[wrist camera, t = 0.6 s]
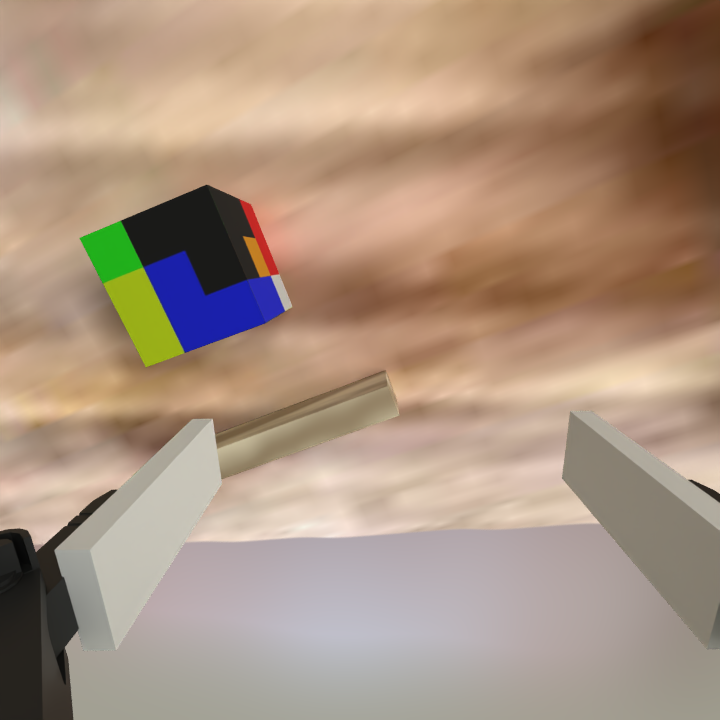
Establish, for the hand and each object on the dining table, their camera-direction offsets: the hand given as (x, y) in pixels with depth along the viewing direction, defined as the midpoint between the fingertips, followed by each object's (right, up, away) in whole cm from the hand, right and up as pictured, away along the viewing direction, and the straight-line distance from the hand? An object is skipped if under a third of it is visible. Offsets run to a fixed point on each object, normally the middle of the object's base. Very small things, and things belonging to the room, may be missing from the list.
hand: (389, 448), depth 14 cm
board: (-8, -3, +27) cm, 28 cm away
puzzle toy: (-14, +11, +23) cm, 30 cm away
